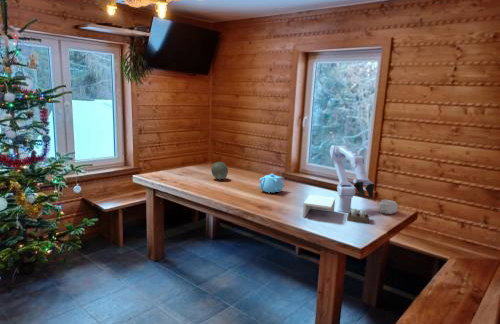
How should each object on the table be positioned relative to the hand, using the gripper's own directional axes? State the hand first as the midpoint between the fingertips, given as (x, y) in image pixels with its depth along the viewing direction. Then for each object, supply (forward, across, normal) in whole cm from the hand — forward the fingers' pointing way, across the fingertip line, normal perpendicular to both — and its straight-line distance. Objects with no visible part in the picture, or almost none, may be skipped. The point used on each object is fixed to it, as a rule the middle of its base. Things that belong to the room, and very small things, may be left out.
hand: (367, 196), depth 195 cm
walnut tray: (+8, +5, +14) cm, 18 cm away
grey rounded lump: (+2, +33, +12) cm, 35 cm away
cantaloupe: (-58, -29, +115) cm, 132 cm away
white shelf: (+1, -10, +30) cm, 32 cm away
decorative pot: (-32, -9, +74) cm, 81 cm away
